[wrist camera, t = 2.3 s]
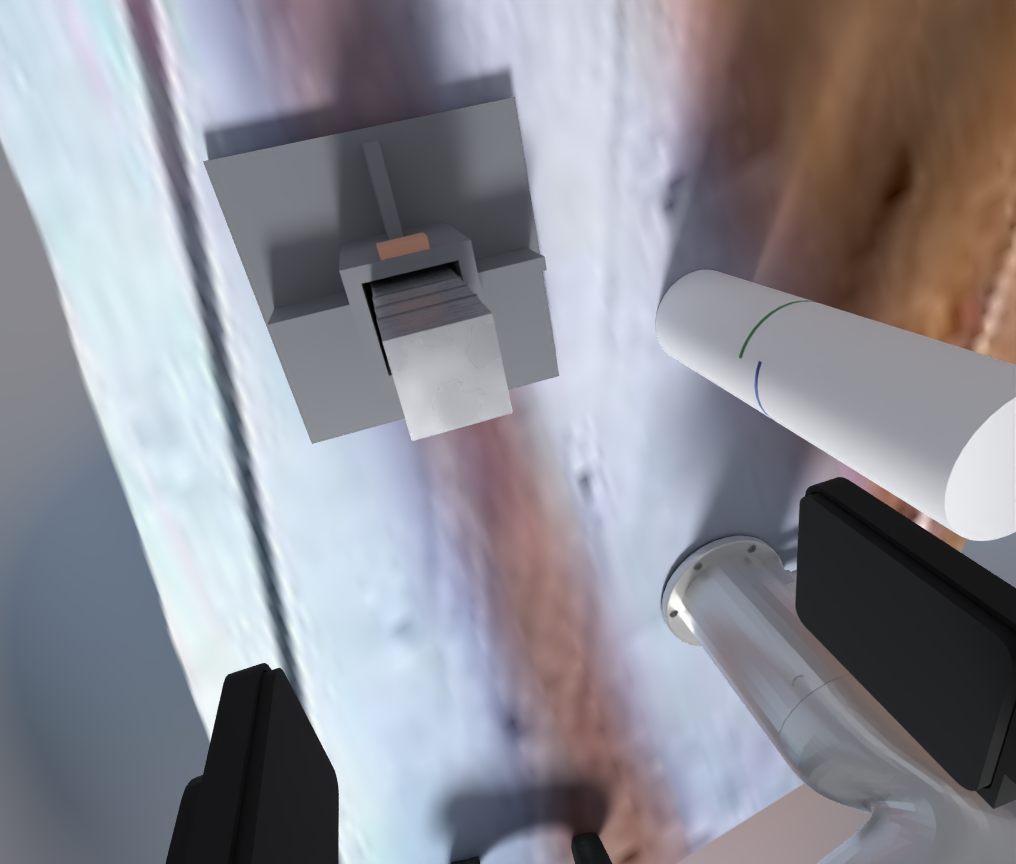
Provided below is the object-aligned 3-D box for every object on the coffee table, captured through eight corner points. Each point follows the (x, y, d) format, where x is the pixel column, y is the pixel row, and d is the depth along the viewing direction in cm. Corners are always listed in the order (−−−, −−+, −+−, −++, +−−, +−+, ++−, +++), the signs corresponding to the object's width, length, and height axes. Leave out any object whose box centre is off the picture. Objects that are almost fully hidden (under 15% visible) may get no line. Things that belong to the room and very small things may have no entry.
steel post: (430, 244, 37) (493, 311, 21) (445, 308, 39) (514, 413, 23) (364, 259, 37) (380, 340, 21) (383, 324, 39) (411, 442, 23)
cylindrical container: (652, 366, 47) (925, 554, 25) (658, 274, 44) (974, 395, 22) (734, 355, 48) (1060, 524, 26) (745, 265, 45) (1124, 370, 23)
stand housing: (508, 98, 37) (567, 79, 27) (552, 369, 45) (610, 428, 35) (208, 161, 34) (155, 164, 25) (312, 434, 43) (303, 517, 33)
